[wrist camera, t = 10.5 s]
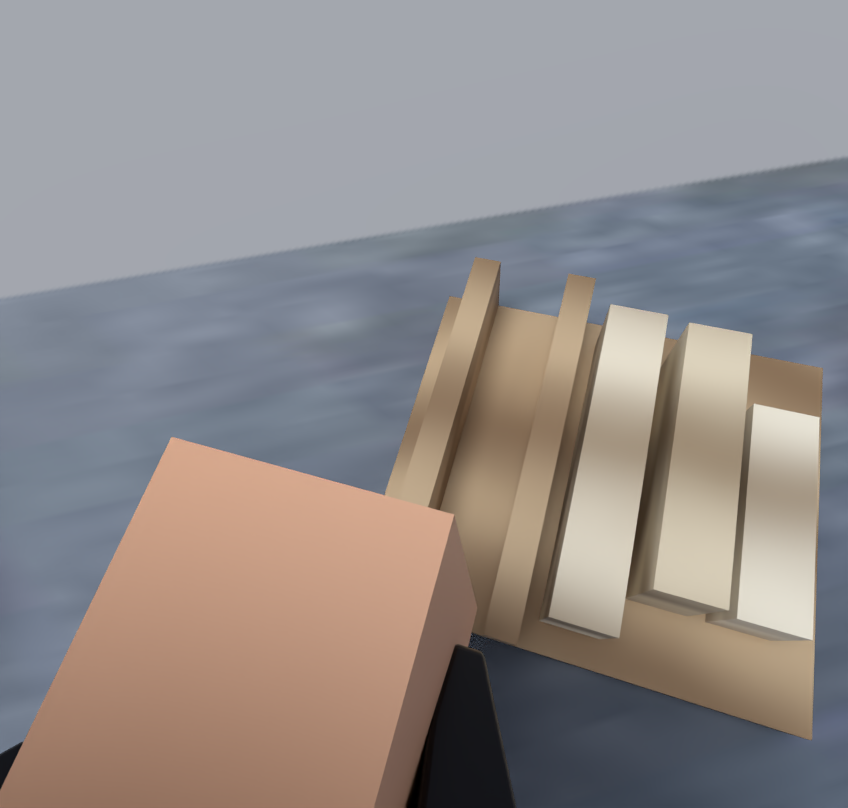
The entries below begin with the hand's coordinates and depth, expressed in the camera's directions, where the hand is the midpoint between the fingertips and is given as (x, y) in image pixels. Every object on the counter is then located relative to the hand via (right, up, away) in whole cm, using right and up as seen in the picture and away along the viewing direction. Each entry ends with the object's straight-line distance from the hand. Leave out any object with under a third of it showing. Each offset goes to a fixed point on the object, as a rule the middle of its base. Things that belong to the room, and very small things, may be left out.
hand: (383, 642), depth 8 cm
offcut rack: (+7, 0, +14) cm, 16 cm away
